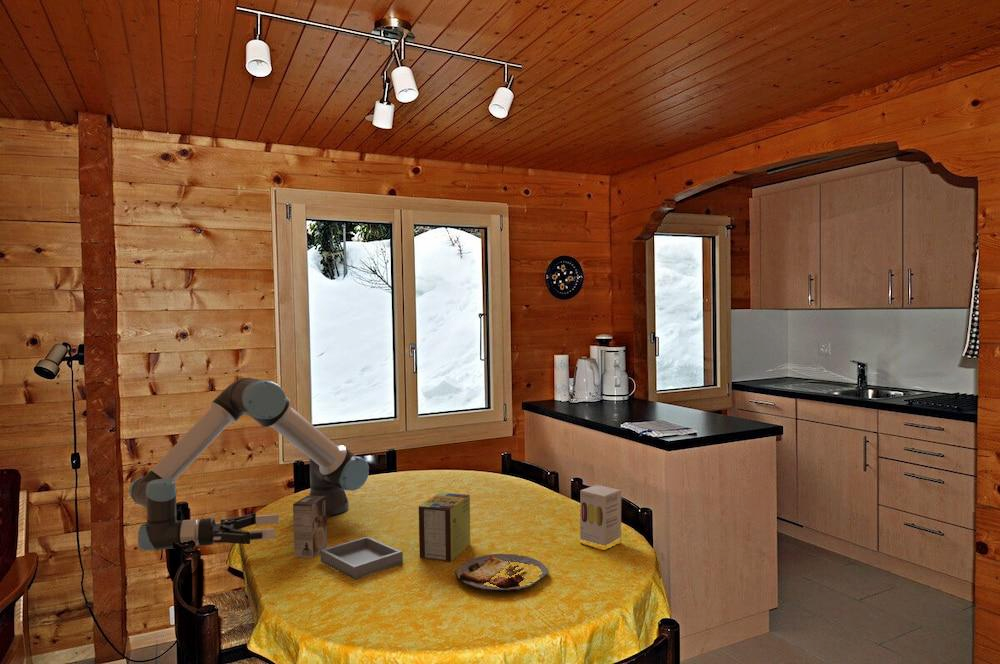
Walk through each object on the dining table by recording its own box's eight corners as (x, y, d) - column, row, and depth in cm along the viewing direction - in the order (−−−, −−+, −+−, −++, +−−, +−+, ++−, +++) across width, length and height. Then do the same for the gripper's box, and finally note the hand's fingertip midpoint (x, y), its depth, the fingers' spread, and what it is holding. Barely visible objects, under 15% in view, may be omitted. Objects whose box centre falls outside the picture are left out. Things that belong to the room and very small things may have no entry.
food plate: (514, 604, 163) (514, 590, 163) (438, 585, 176) (438, 571, 176) (560, 572, 184) (560, 559, 184) (490, 557, 197) (490, 545, 197)
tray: (367, 547, 203) (367, 536, 203) (402, 563, 190) (402, 551, 190) (320, 562, 192) (320, 550, 192) (354, 580, 179) (354, 567, 179)
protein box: (471, 544, 206) (470, 494, 205) (451, 562, 191) (450, 508, 190) (440, 540, 209) (439, 491, 208) (418, 558, 194) (417, 505, 194)
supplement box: (579, 544, 204) (578, 490, 204) (596, 536, 211) (596, 483, 210) (605, 551, 198) (605, 495, 197) (622, 543, 205) (622, 489, 204)
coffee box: (308, 546, 205) (307, 494, 204) (328, 547, 204) (326, 495, 203) (293, 557, 196) (292, 503, 195) (313, 558, 195) (312, 504, 194)
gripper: (207, 531, 204) (280, 524, 209) (190, 561, 180) (273, 553, 185) (206, 507, 204) (279, 501, 209) (190, 533, 179) (273, 526, 185)
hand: (276, 525), depth 197 cm, fingers open, 13 cm apart
